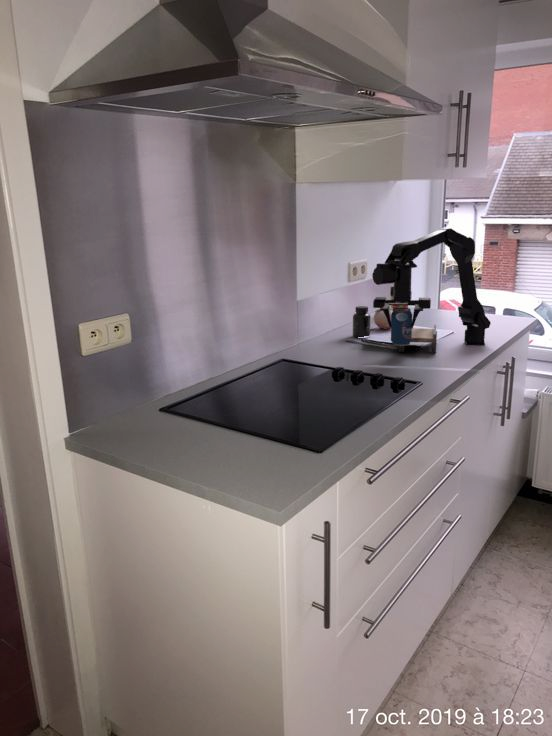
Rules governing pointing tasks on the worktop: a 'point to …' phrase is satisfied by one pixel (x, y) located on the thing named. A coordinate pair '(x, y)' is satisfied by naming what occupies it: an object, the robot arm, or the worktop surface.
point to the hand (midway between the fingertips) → (401, 327)
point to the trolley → (423, 337)
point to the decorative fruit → (381, 318)
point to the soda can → (401, 326)
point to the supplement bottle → (361, 322)
